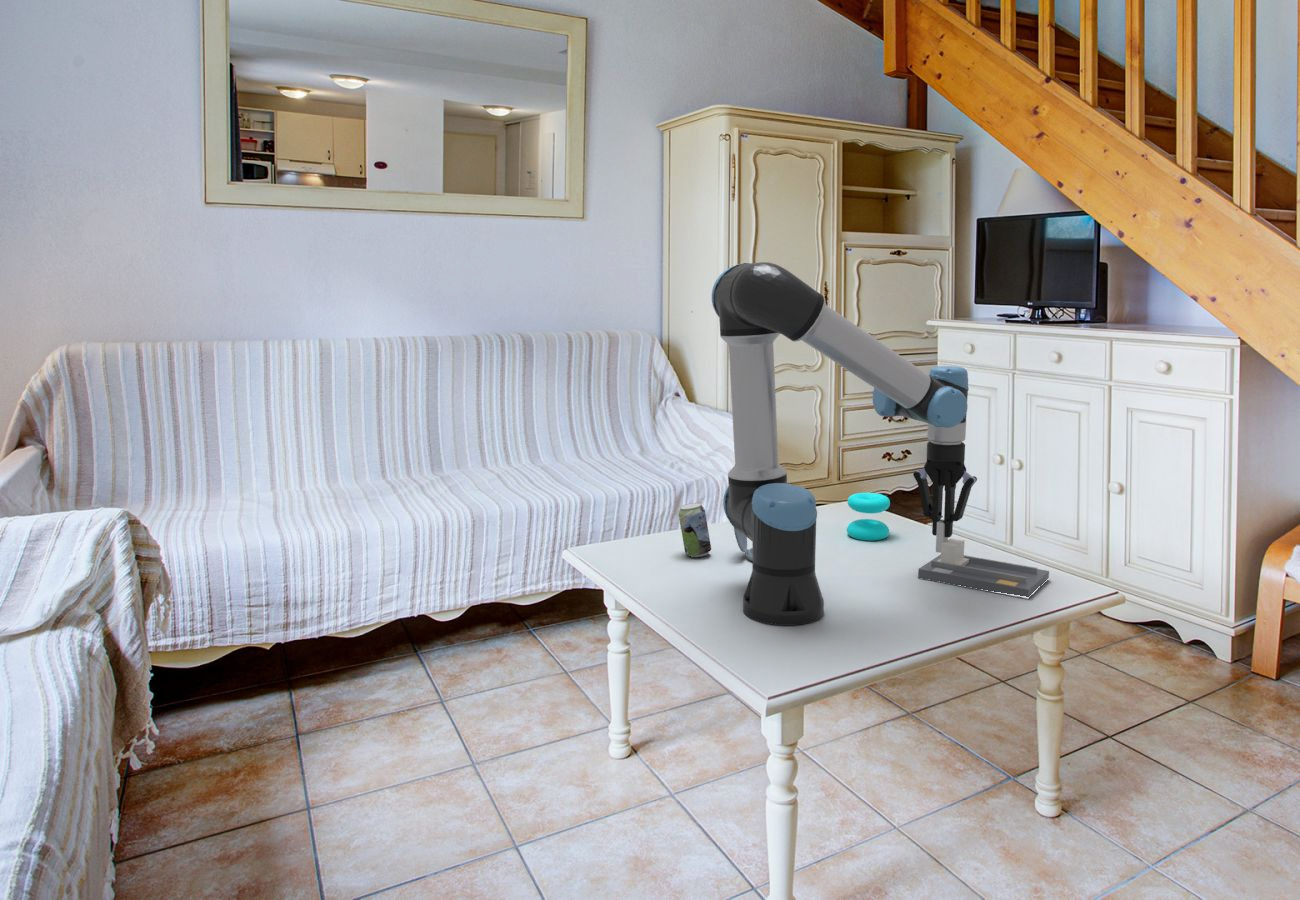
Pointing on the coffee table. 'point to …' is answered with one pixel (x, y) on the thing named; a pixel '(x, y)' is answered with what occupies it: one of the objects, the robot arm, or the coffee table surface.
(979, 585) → the switch panel
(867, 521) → the donuts
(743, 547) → the pocket watch
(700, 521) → the beverage can
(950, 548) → the switch tab
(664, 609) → the coffee table surface
